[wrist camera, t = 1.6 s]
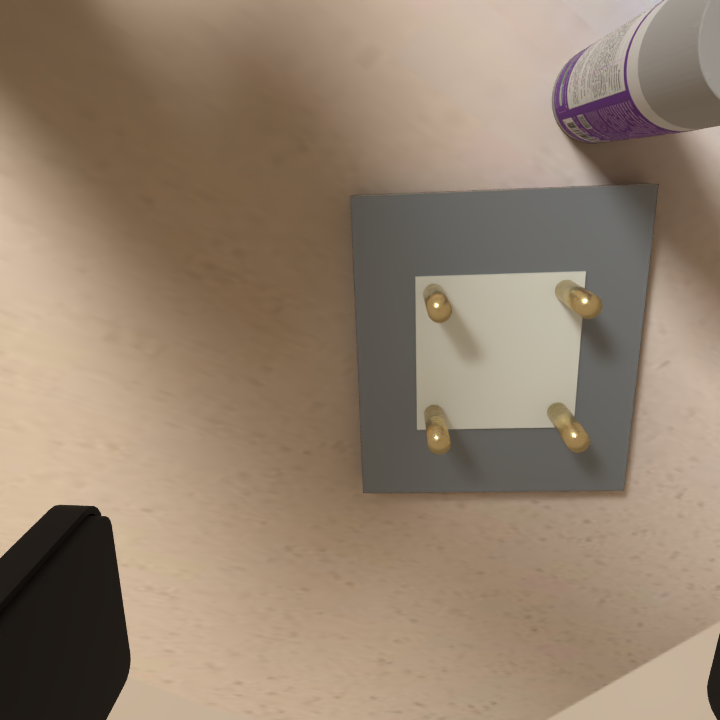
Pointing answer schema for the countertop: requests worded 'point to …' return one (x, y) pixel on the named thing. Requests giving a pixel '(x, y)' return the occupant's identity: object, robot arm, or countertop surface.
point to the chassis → (499, 334)
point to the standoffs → (557, 412)
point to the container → (645, 76)
